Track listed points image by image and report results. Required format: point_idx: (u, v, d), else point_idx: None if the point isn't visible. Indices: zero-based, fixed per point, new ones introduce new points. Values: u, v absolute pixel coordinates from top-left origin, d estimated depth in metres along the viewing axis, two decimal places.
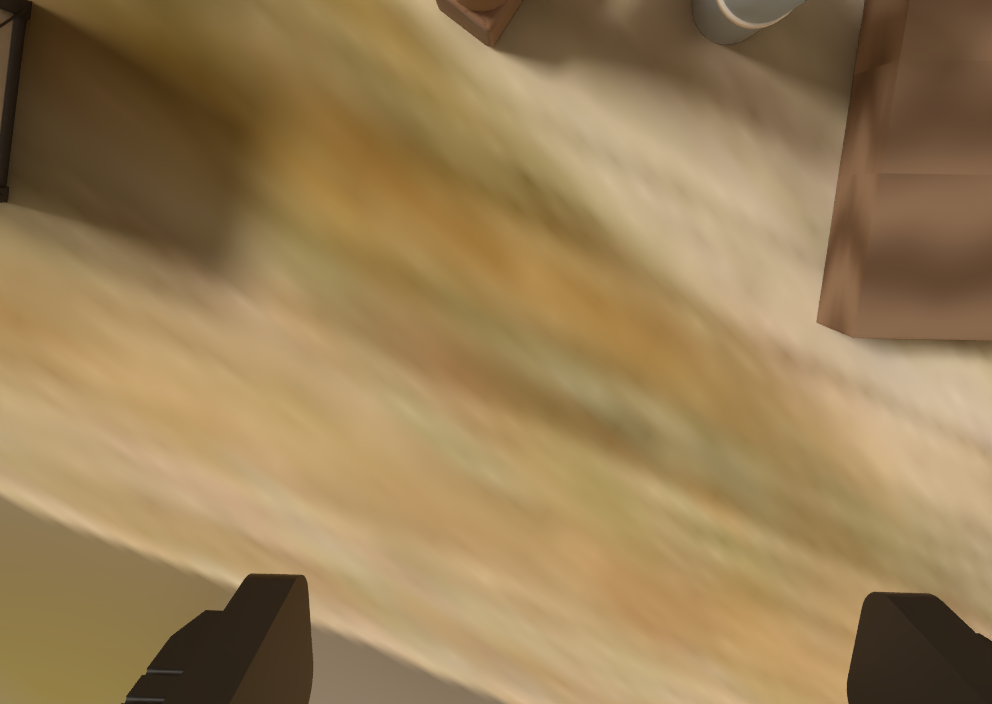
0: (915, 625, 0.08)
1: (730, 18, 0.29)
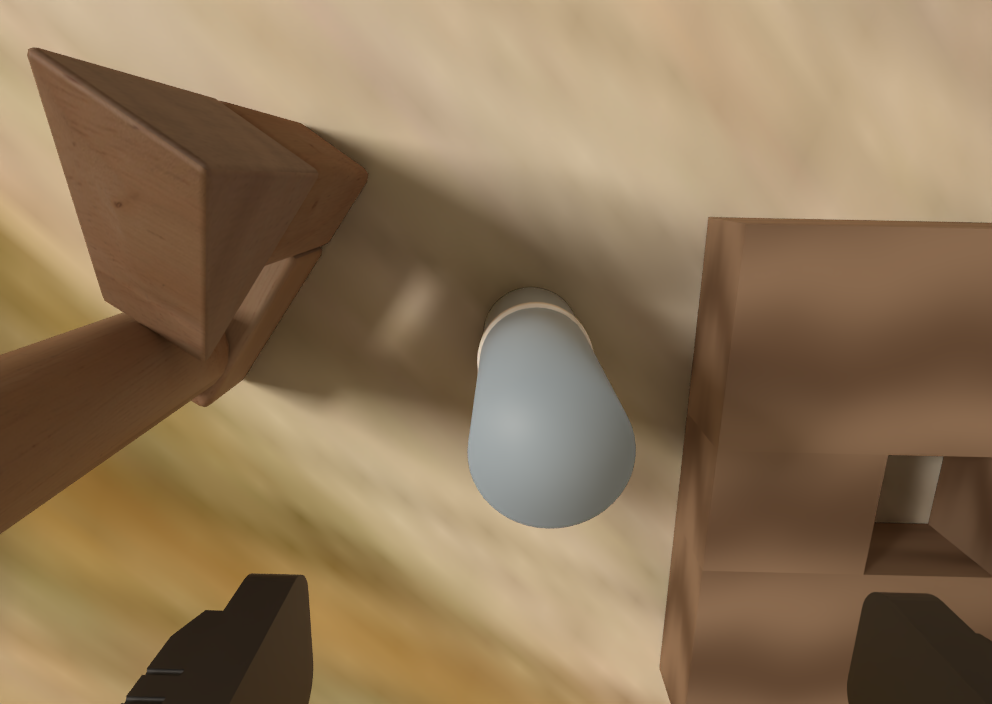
0: (915, 625, 0.08)
1: None
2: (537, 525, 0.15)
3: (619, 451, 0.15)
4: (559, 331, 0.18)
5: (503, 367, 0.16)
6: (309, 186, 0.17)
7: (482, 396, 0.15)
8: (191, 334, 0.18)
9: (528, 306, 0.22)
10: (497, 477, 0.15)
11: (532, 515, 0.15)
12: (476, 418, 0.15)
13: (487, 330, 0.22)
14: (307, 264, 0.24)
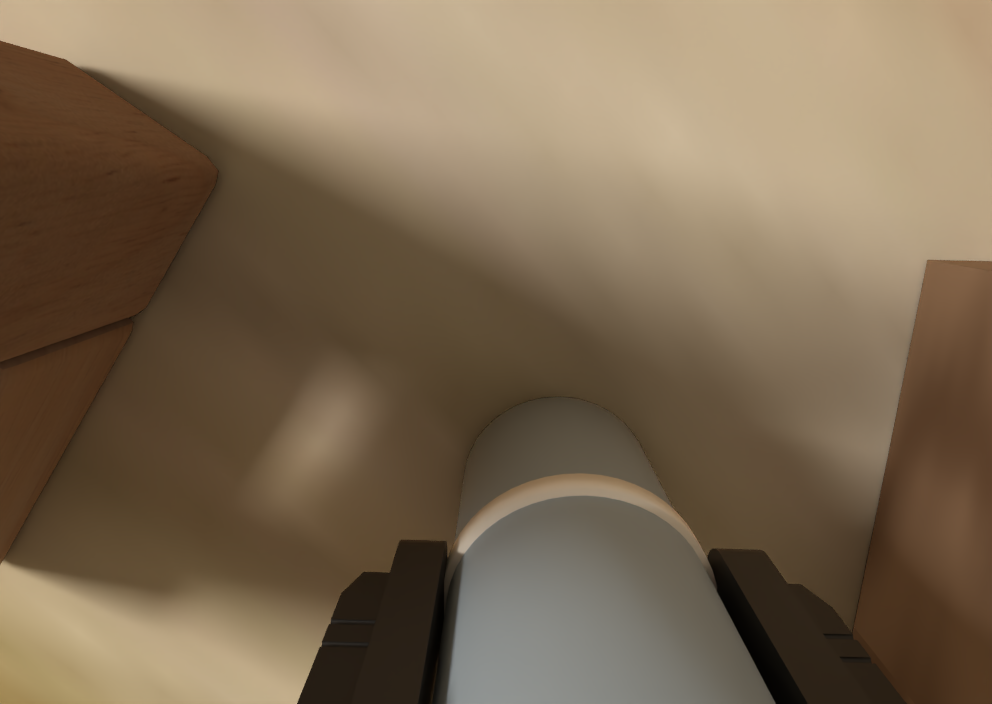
0: (735, 574, 0.09)
1: None
2: None
3: None
4: (684, 676, 0.06)
5: None
6: None
7: None
8: None
9: (563, 493, 0.09)
10: None
11: None
12: None
13: (463, 545, 0.09)
14: (79, 363, 0.11)
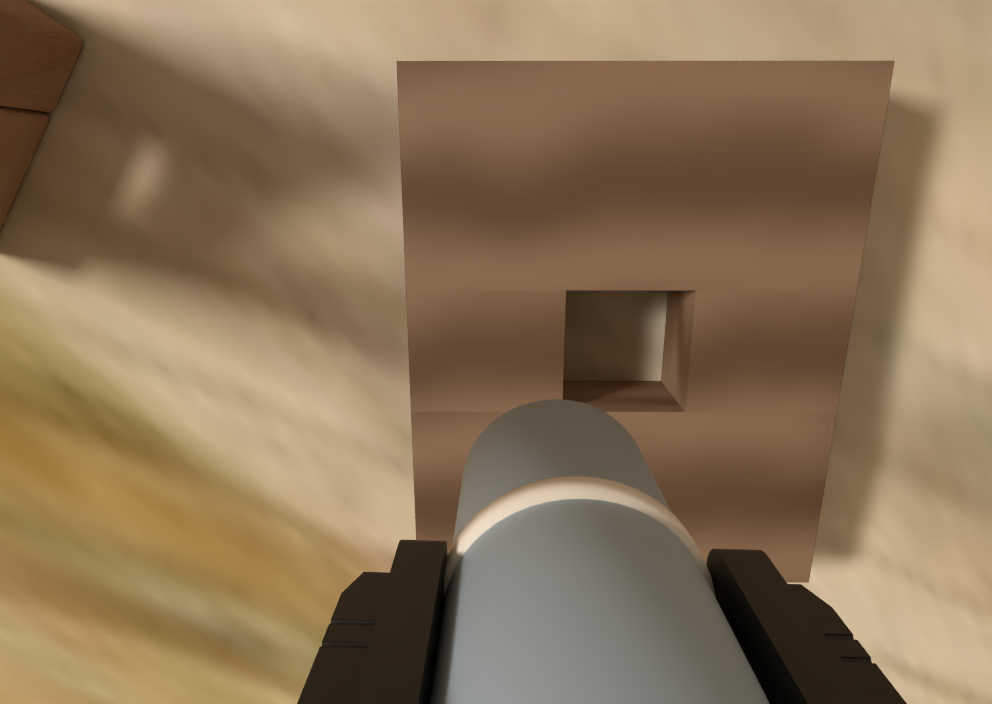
0: (735, 574, 0.09)
1: None
2: None
3: None
4: (679, 680, 0.06)
5: None
6: None
7: None
8: None
9: (561, 496, 0.09)
10: None
11: None
12: None
13: (460, 547, 0.09)
14: (21, 125, 0.25)
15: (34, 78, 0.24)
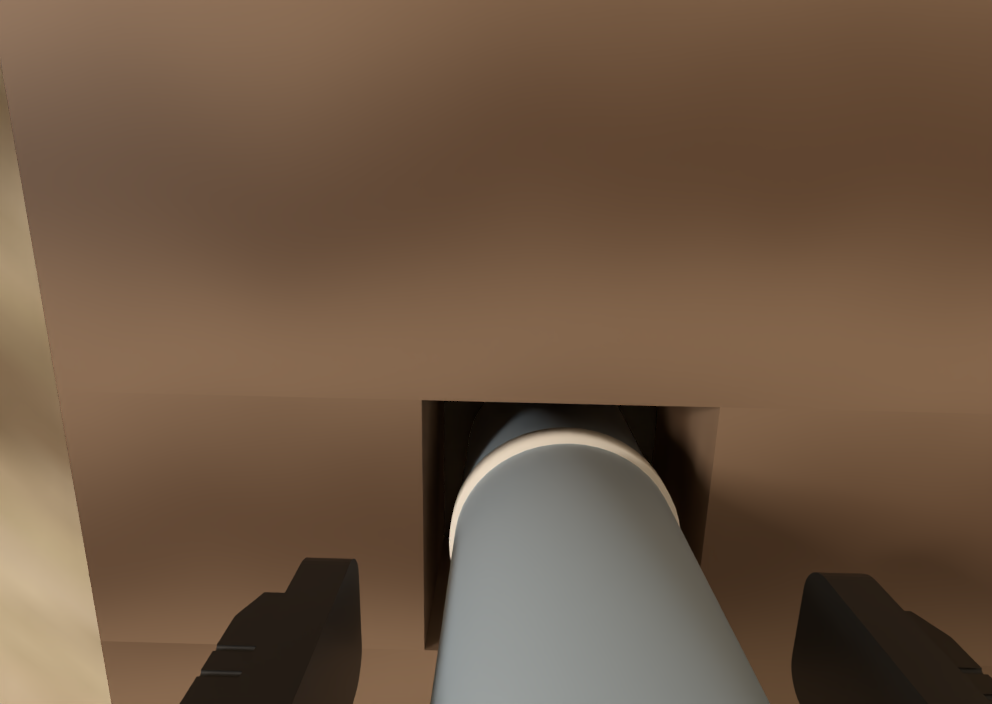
0: (847, 602, 0.08)
1: None
2: None
3: None
4: (636, 556, 0.08)
5: None
6: None
7: None
8: None
9: (551, 441, 0.11)
10: None
11: None
12: None
13: (469, 485, 0.11)
14: None
15: None
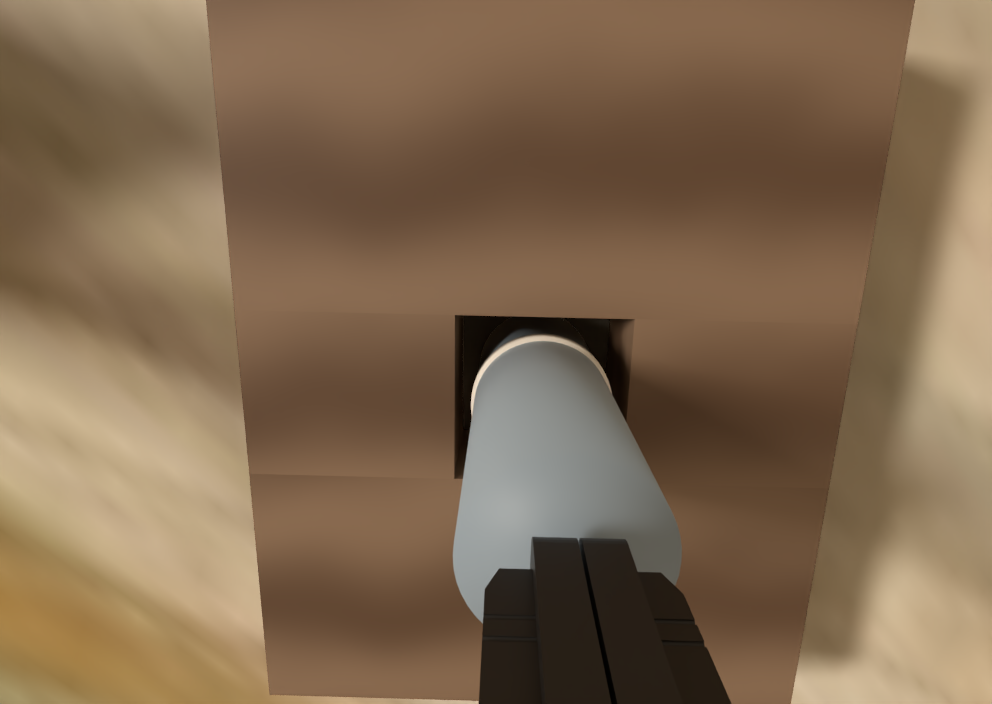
0: (591, 562, 0.09)
1: None
2: None
3: (659, 556, 0.11)
4: (573, 377, 0.15)
5: (501, 434, 0.12)
6: None
7: (473, 475, 0.12)
8: None
9: (533, 339, 0.18)
10: None
11: None
12: (464, 511, 0.11)
13: (483, 368, 0.18)
14: None
15: None
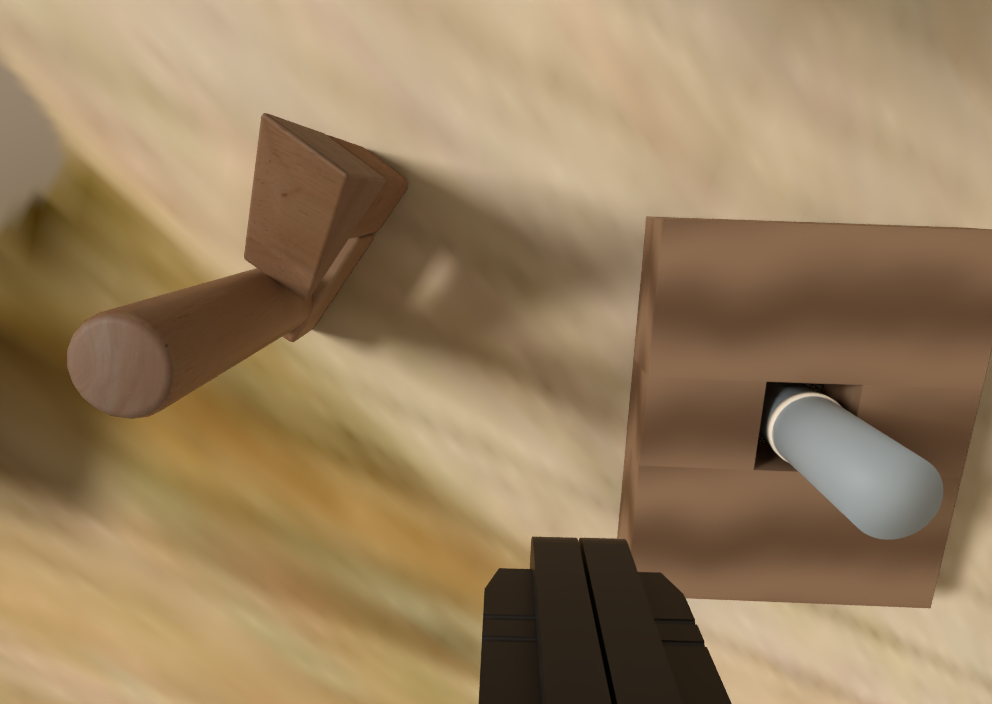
0: (590, 562, 0.09)
1: None
2: (880, 537, 0.27)
3: (934, 496, 0.26)
4: (856, 418, 0.30)
5: (852, 445, 0.28)
6: (380, 188, 0.28)
7: (846, 463, 0.27)
8: (303, 280, 0.28)
9: (809, 395, 0.33)
10: (862, 510, 0.26)
11: (878, 532, 0.27)
12: (855, 477, 0.26)
13: (779, 410, 0.34)
14: (365, 244, 0.34)
15: (384, 214, 0.34)
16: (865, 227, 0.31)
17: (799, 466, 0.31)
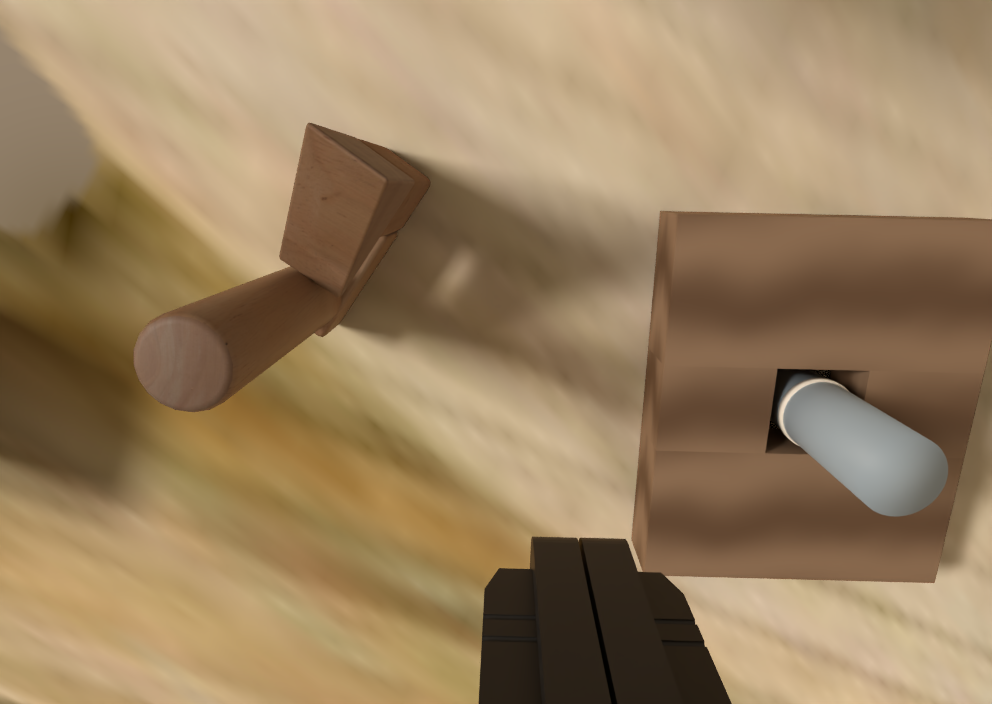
0: (590, 562, 0.09)
1: (791, 440, 0.36)
2: (888, 514, 0.28)
3: (939, 475, 0.28)
4: (864, 402, 0.32)
5: (861, 428, 0.29)
6: (409, 189, 0.29)
7: (856, 445, 0.29)
8: (337, 278, 0.29)
9: (818, 381, 0.35)
10: (871, 489, 0.28)
11: (887, 509, 0.28)
12: (865, 458, 0.28)
13: (790, 395, 0.35)
14: (390, 242, 0.36)
15: (408, 212, 0.35)
16: (872, 219, 0.33)
17: (810, 449, 0.32)
